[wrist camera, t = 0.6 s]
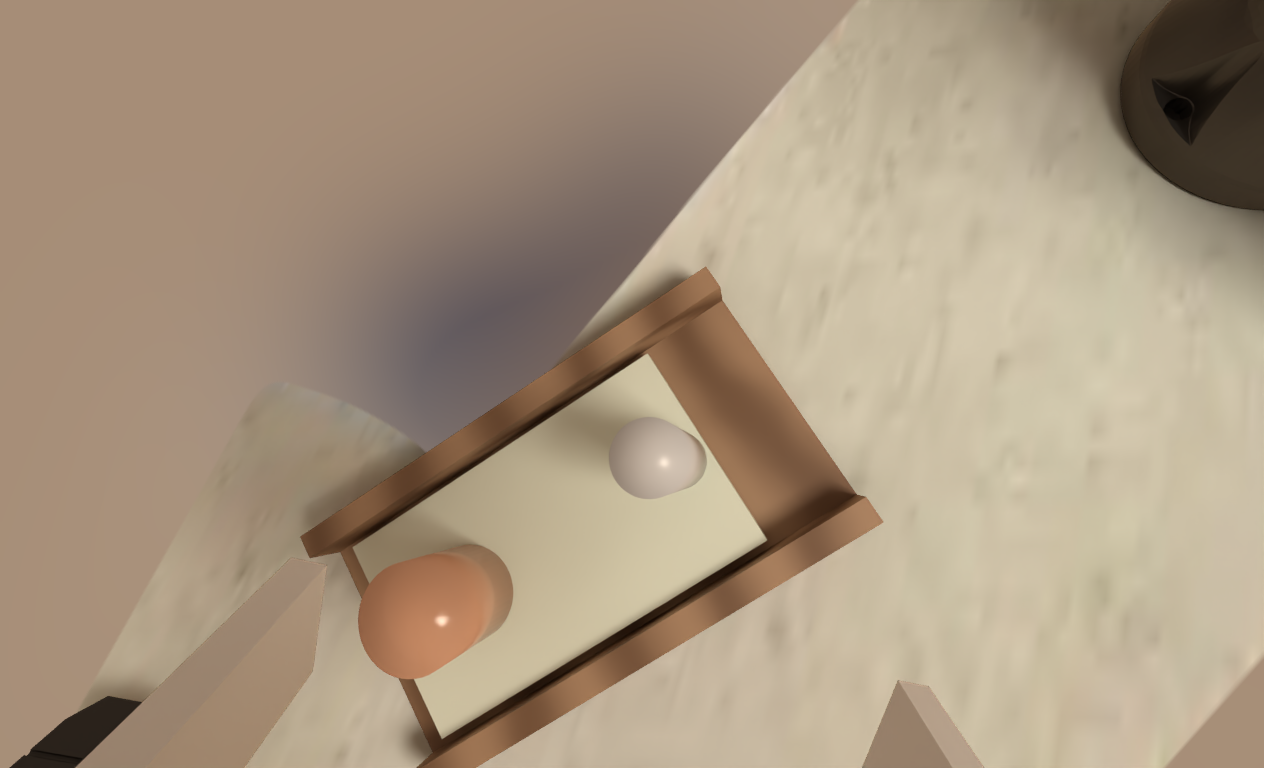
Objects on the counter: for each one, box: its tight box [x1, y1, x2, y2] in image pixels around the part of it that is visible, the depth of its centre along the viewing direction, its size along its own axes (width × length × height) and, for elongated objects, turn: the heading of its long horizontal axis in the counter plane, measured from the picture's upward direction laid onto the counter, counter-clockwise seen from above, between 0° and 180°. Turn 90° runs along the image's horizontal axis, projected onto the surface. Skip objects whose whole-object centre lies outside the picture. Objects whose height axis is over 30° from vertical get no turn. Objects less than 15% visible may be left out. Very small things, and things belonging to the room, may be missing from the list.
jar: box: [358, 544, 513, 679], centre depth 35 cm, size 6×6×7 cm
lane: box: [301, 267, 883, 768], centre depth 38 cm, size 32×18×4 cm, turn 122°
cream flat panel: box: [352, 353, 767, 739], centre depth 33 cm, size 24×14×12 cm, turn 122°
